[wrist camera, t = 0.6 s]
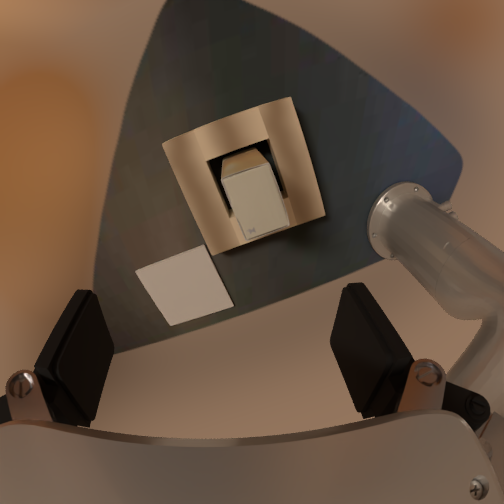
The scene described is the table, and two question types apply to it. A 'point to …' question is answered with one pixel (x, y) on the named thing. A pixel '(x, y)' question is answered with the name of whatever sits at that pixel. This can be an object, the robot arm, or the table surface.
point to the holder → (232, 138)
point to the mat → (185, 286)
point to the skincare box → (253, 194)
